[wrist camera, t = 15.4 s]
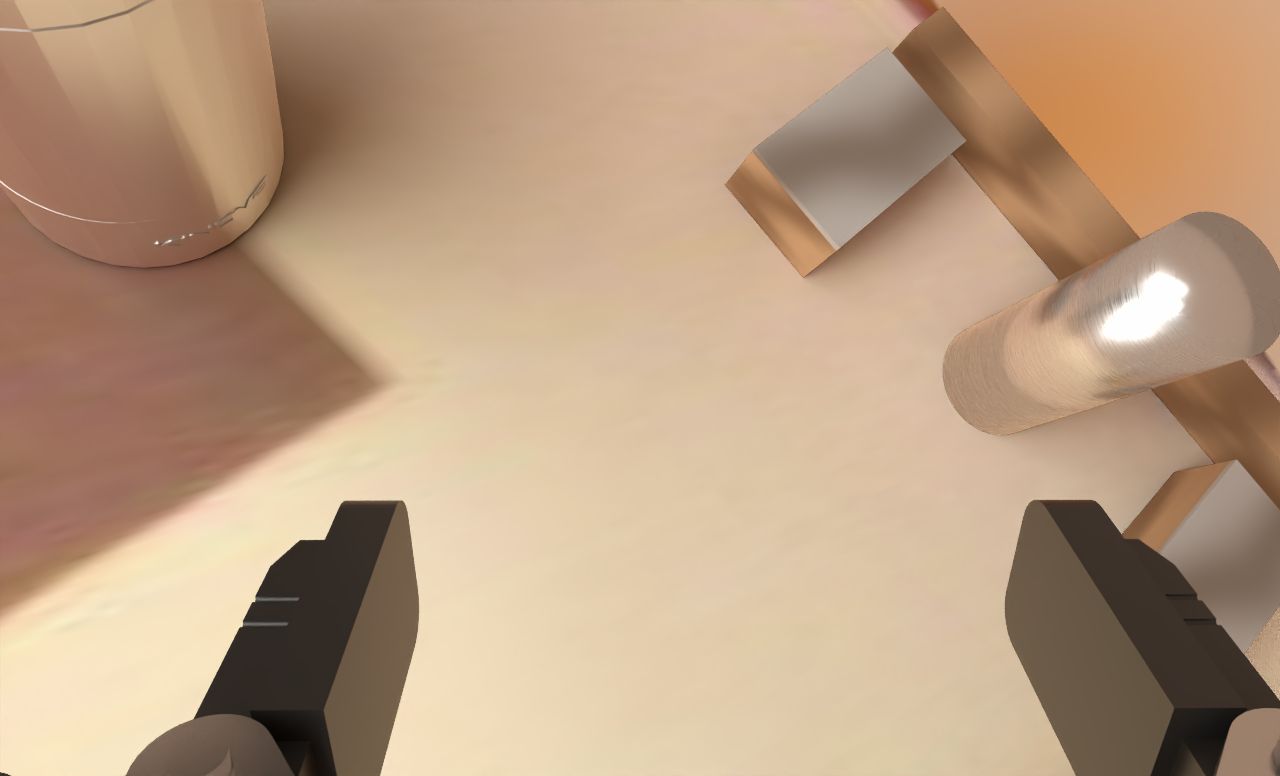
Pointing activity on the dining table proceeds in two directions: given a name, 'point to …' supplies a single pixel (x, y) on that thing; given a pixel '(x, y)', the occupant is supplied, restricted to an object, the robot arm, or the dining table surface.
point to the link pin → (1120, 327)
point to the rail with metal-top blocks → (1066, 241)
